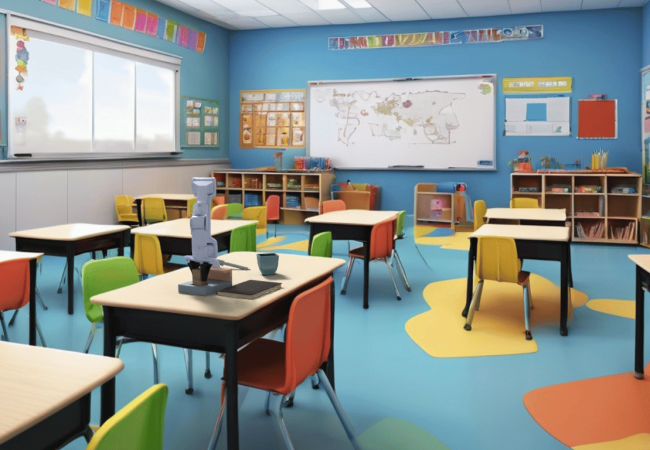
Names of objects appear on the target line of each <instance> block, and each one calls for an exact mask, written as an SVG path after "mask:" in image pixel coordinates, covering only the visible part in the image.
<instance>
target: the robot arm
mask: <svg viewBox="0 0 650 450" xmlns="http://www.w3.org/2000/svg"><path fill="white" fill-rule="evenodd" d="M191 191H192V193H193V196H194V197H195V198H196V202H194V204H193V206H192V214H191V216H190V217H189V228H190V235H191V252H192V255H184V256H183V261H184V262H187V263H186V265H187V267H188V269H189V270H190V272H191V274H192V269H196V268H199V267H200V269H201V275H202V281H203V282H204V281H207V278H208V274H209V271H210V269H211V267H212V266H214V267H221V265H220V263H219V261H218V260H217V259H218V256H219V248H218V241H217V239H215V238H214V237H212V236H211V235H212V234H211V230H212V229H211V227H212V226H211V225H212V223H211V219H212V218H211V216H212V215H211V211H212V209H211V208H212V207H211V202H212V198H216V195H217V180H216V178H215V177H195V176H193V177H192V178H191Z"/></svg>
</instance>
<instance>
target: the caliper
mask: <svg viewBox="0 0 650 450" xmlns="http://www.w3.org/2000/svg"><path fill="white" fill-rule="evenodd" d="M216 259H217V260H218V261H219V263H220V267H224V266H227V267H231V268H235V269H238V270H244V271H251V268H249V266H244V265H240V264H237V263H232V262H228V261H225V260H223V259H221V258H216Z"/></svg>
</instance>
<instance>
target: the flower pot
mask: <svg viewBox="0 0 650 450" xmlns="http://www.w3.org/2000/svg"><path fill="white" fill-rule="evenodd" d="M279 260H280V255H279V254H277V253H276V252H265V253H256V262H257V263H256V264H257V266H258V269H259V270H258V271H259V272H260V273H261V274H262V275H263V276H270V275H272V274H274V275H275V274H276V273H277V270H278V267H279ZM272 276H273V275H272Z"/></svg>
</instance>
